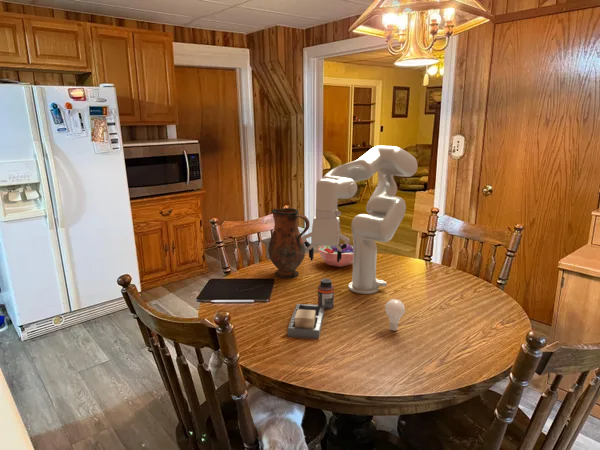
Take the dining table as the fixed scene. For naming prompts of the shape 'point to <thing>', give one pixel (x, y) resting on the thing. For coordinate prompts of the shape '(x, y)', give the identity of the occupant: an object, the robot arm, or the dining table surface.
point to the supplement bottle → (326, 294)
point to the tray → (307, 332)
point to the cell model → (331, 255)
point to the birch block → (305, 318)
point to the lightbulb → (394, 312)
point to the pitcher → (287, 242)
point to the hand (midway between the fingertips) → (325, 260)
